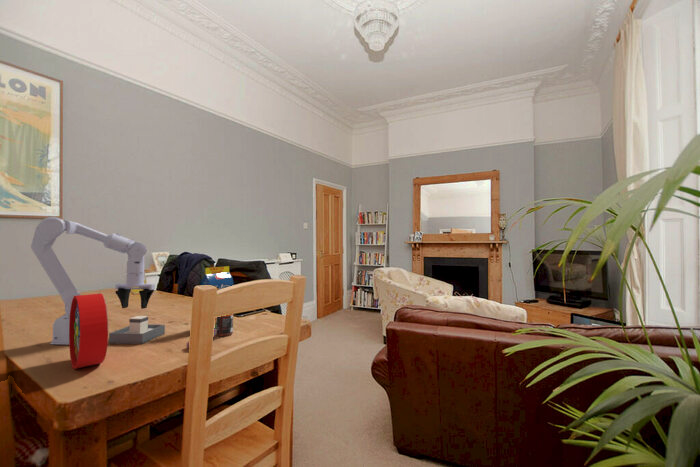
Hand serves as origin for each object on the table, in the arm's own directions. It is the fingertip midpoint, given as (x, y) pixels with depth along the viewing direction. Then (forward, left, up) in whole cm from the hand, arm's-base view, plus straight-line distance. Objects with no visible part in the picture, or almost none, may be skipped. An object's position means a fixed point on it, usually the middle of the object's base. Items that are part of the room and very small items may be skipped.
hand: (134, 308), depth 121 cm
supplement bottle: (+36, 0, -10) cm, 37 cm away
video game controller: (+34, -12, -10) cm, 37 cm away
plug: (+7, -7, -9) cm, 13 cm away
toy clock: (+10, -31, -10) cm, 34 cm away
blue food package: (+28, +10, -10) cm, 31 cm away
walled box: (+7, -7, -9) cm, 14 cm away
